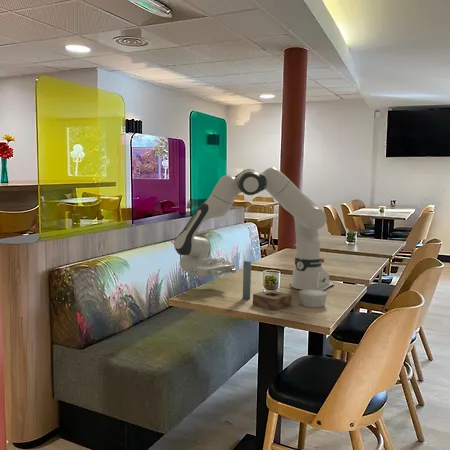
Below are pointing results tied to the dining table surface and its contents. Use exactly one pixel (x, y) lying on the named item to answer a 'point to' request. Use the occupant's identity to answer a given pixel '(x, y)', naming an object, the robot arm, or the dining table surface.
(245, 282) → the dowel
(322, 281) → the robot arm
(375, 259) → the dining table surface
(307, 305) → the ramekin
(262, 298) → the wooden candle holder
